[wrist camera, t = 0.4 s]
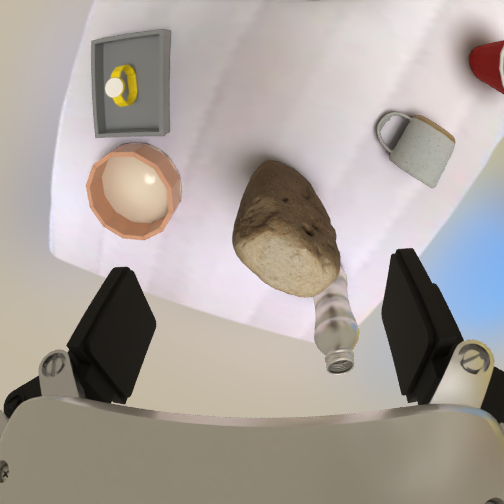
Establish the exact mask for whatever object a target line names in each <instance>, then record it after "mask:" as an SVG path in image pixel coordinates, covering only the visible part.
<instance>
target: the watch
mask: <svg viewBox="0 0 504 504" xmlns="http://www.w3.org/2000/svg"><path fill="white" fill-rule="evenodd" d="M122 70H124V72H125V73H126V75H127V79H128V88H129V94H128V99H127V101H125V100H124V98H123V96H122V94H123V92H124V90H125V83H124V81H123V80H122V79H121V78H120V76H121V72H122ZM105 92H106V94H107V95H108V96H109V97H111V98H113V100H114V102H115V103H116V104H117V105H118V106H120V107H123V106H129V105H132V104H133V103H134V102H135V100H136V98H137V93H138V90H137V81H136V73H135V71H134V69H133V67H131V66H130V65H128V64H127V65H123V66H119V67H116V68H115V69H114V71H113V72H112V74H111V79H110V80H108V82H107V83H106V86H105Z"/></svg>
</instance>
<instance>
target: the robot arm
mask: <svg viewBox="0 0 504 504" xmlns="http://www.w3.org/2000/svg"><path fill="white" fill-rule="evenodd" d="M382 320H383V324H384V327H385V331H386V334H387V338H388V341H389V345H390V349H391V353H392V357H393V361H394V365H395V369H396V373H397V377H398V381H399V386H400V390H401V394H402V395H406V397H407V401H408V403H411V402H416V401H418V405H416V406H409V407H400V408H393V409H387V410H379V411H372V412H362V413H351V414H342V415H330V416H315V417H296V418H295V417H293V418H238V417H216V416H201V415H189V414H179V413H169V412H161V411H153V410H146V409H139V408H133V407H127V406H121V405H115V404H111V402H112V401H113V402H114V403H120V404H125V403H126V401H127V398H128V397H130V396H131V394H132V392H133V389H134V386H135V383H136V380H137V377H138V375H139V372H140V369H141V366H142V364H143V361H144V358H145V355H146V353H147V350H148V347H149V344H150V342H151V339H152V337H153V334H154V331H155V329H156V320H155V317H154V315H153V313H152V311H151V309H150V307H149V305H148V302H147V300H146V298H145V296H144V294H143V291H142V289H141V287H140V285H139V282H138V280H137V278H136V275H135V273H134V272H133V271H132V270H130V268H128V267H115V268H113V269H112V270H111V272H110V274H109V275H108V277H107V278H106V280H105V281H104V283H103V284H102V286H101V288H100V289H99V291H98V292H97V294H96V296H95V297H94V299H93V300H92V302H91V304H90V305H89V307H88V309H87V311H86V312H85V314H84V316H83V317H82V319H81V321H80V322H79V324H78V326H77V328H76V329H75V331H74V333H73V335H72V336H71V338H70V340H69V342H68V343H67V345H66V346H67V347H68V348H69V351H68V353H67V352H65V351H64V350H55V351H52V352H50V353H49V354H47V355H46V356H45V357H44V358H43V360H42V361H41V363H40V366H39V376H37V377H36V378H34V379H32V380H31V381H29V382H27V383H26V384H24V385H22V386H21V387H19V388H17V389H16V390H14V391H13V392H11V393H10V394H9V395H8V396H7V398H6V400H5V403H4V412H3V411H2V410H0V504H504V372H503V371H502V370H499V369H498V368H496V367H494V357H493V354H492V352H491V350H490V349H489V348H488V347H487V346H486V345H485V344H483V343H482V342H480V341H477V340H466V341H464V340H463V337H462V335H461V333H460V331H459V328H458V326H457V324H456V322H455V320H454V318H453V316H452V314H451V311H450V310H449V307H448V305H447V303H446V301H445V299H444V297H443V295H442V293H441V292H440V289H439V288H438V286H437V285H436V284H434V283H433V284H432V282H431V280H430V278H429V276H428V274H427V272H426V271H425V269H424V267H423V265H422V263H421V261H420V260H419V258H418V256H417V254H416V253H415V251H414V249H413V248H406V249H397V250H396V253H395V254H392V255H391V259H390V266H389V272H388V278H387V284H386V289H385V295H384V300H383V305H382Z"/></svg>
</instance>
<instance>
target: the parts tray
mask: <svg viewBox="0 0 504 504" xmlns="http://www.w3.org/2000/svg"><path fill="white" fill-rule="evenodd" d="M170 42H171V31H170V30H165V29H162V30H153V31H144V32H137V33H130V34H124V35H118V36H113V37H107V38H102V39H98V40H93V41H91V74H92V100H93V115H94V128H95V138H105V137H129V136H164V135H166V134H167V133H168V132H170V118H169V79H170ZM127 64H128V65H130V66H131V67H133V69H134V71H135V73H136V81H137V90H138V93H137V98H136V100H135V102H134V103H133V104H132V105H129V106H123V107H120V106H118V105H117V104H116V103H115V102H114V100H113V98H111V97H109V96H108V95H107V94H106V92H105V86H106V83H107V82H108V80H110V79H111V74H112V72H113V71H114V69H115V68H116V67H119V66H123V65H127ZM120 78H121V79H122V80H123V81H124V83H125V90H124V92H123V94H122V96H123V98H124V100H125V101H127V99H128V94H129V88H128V79H127V75H126V73H125V72H124V70H122V72H121V76H120Z"/></svg>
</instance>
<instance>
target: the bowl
mask: <svg viewBox="0 0 504 504" xmlns="http://www.w3.org/2000/svg"><path fill="white" fill-rule="evenodd" d="M86 189H87V194H88V200H89V205H90V208H91V210H92V211H93V213H94V214H95V215H96V217H97V218H98V220H99V221H100V222H101V224H102V225H103V227H105V228H107V229H108V230H110V231H112V232H113V233H115V234H117V235H118V236H120V237H122V238H126V239H136V240H146V239H148V238H150V237H152V236H154V235H156V234H158V233H161V232H163V230H164V229H165V227H166V225H167V224H168V222H169V220H170V219H171V217H172V215H173V213H174V212H175V210H176V208H177V206H178V205H179V203H180V201H181V193H182V186H181V179H180V176H179V173H178V170H177V168H176V167H175V165H174V163H173V162H172V161H171V159H170V158H169V157H168V156H167V155H166V154H165V153H163V152H162V151H161V150H159V149H158V148H156V147H154V146H151V145H149V144H145V143H128V144H122V145H120V146H119V147H117V148H116V149H114V150H113V151H111V152H110V153H109V154H107V155H106V156H105V157H103V158H102V159H100V160H99V161H98V162H96V163H95V164H94V165H93V166H92V169H91V172H90V175H89V178H88V181H87V184H86Z"/></svg>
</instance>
